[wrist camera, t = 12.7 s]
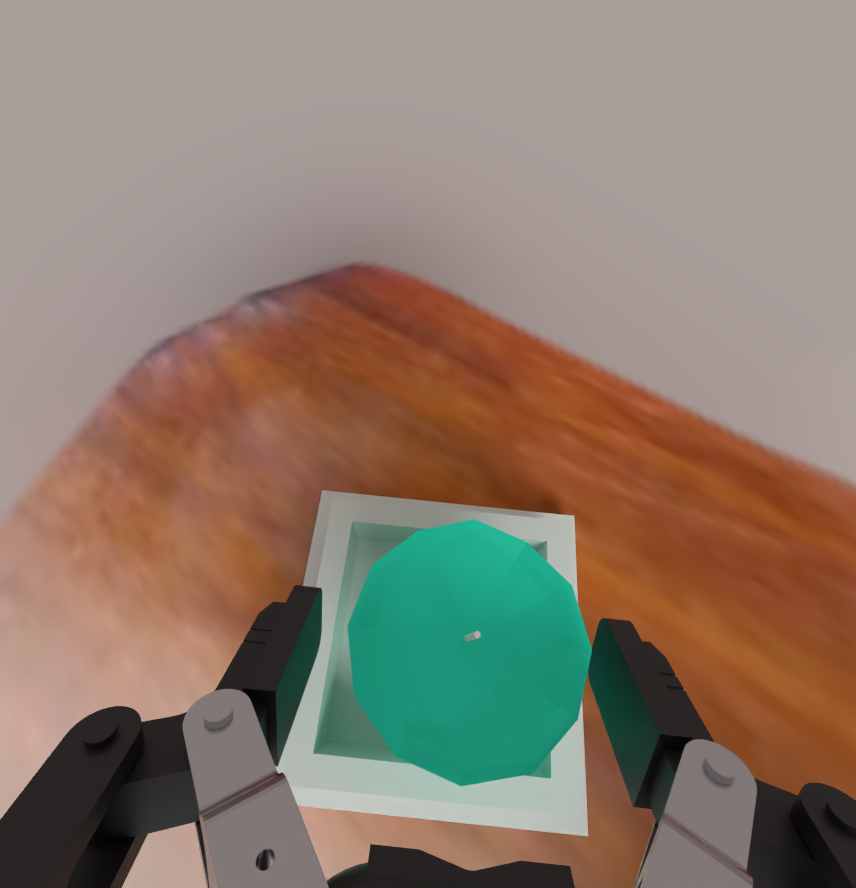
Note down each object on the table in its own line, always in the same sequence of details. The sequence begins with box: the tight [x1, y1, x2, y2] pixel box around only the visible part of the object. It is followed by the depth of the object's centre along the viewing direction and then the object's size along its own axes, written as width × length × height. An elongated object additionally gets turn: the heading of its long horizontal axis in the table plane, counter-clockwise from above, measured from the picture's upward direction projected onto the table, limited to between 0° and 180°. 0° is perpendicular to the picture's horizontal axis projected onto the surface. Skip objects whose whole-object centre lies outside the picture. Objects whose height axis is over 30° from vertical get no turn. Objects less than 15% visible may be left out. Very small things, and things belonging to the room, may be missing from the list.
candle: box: [347, 519, 592, 786], centre depth 15 cm, size 6×6×12 cm
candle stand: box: [275, 490, 588, 836], centre depth 20 cm, size 13×13×4 cm
